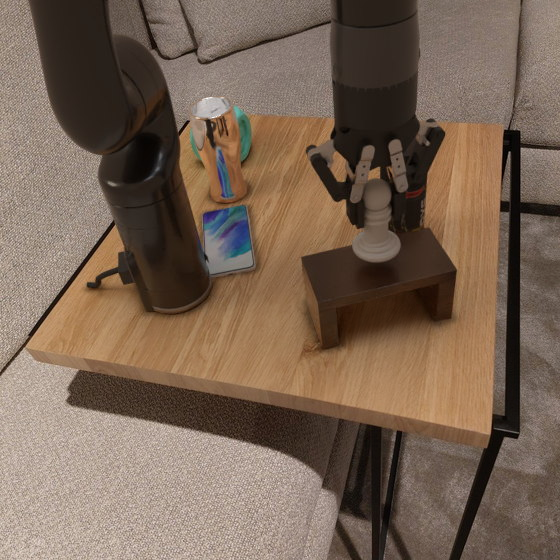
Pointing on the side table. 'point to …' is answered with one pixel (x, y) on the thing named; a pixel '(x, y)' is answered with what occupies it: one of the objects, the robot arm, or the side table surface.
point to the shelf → (377, 280)
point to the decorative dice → (244, 134)
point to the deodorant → (409, 201)
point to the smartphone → (228, 241)
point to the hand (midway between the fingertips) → (375, 219)
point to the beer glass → (219, 146)
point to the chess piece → (376, 224)
